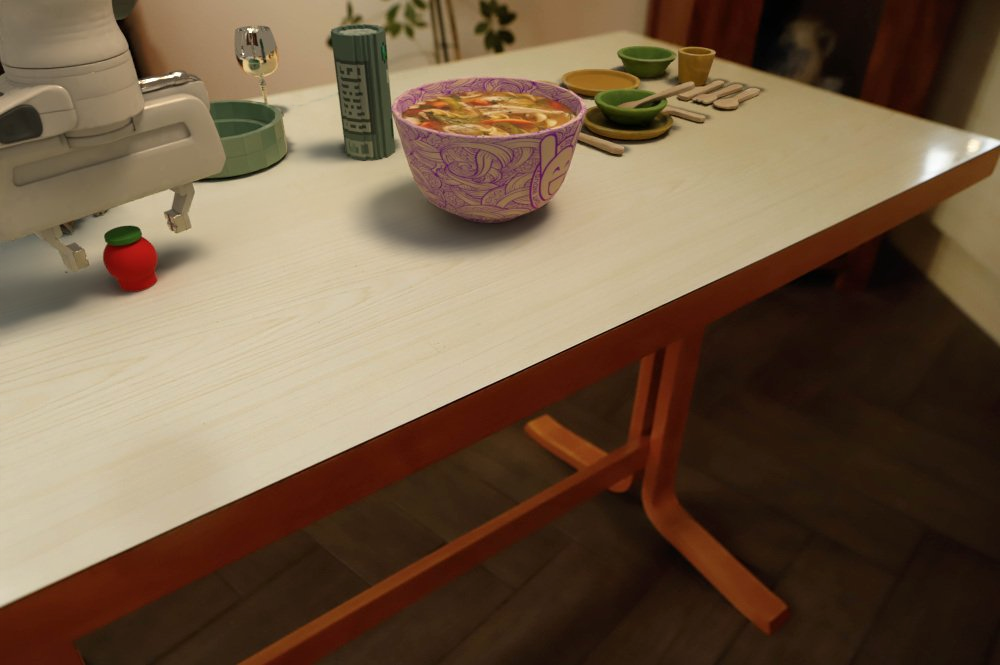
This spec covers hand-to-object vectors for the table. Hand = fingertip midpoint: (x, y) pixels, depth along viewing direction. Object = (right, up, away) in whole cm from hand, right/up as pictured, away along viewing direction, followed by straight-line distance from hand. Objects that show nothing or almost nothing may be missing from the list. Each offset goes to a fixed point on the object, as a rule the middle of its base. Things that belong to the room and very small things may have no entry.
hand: (131, 247), depth 65 cm
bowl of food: (+32, +6, +16) cm, 36 cm away
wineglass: (-1, +24, +41) cm, 47 cm away
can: (+16, +16, +30) cm, 37 cm away
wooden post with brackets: (-11, +4, +13) cm, 18 cm away
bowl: (-2, +15, +27) cm, 31 cm away
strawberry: (0, -3, +2) cm, 4 cm away
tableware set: (+53, +28, +47) cm, 76 cm away
